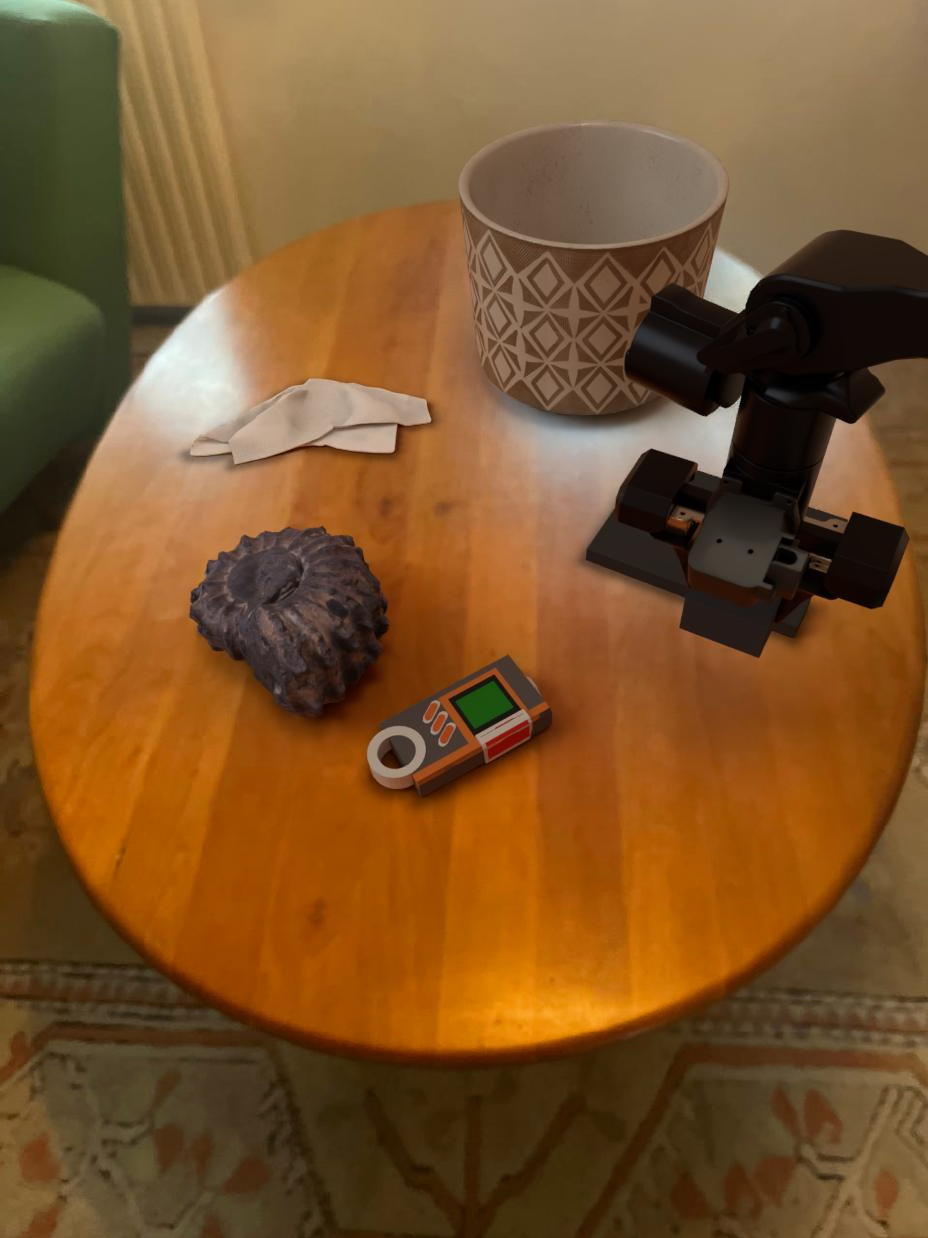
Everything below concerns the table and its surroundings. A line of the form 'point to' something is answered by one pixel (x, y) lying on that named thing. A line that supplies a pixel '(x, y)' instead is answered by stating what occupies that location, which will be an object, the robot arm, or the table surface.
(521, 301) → the planter
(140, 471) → the table surface
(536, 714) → the electronic device
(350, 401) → the cloth
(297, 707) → the seashell
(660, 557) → the flat black pad
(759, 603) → the dark grey square block
